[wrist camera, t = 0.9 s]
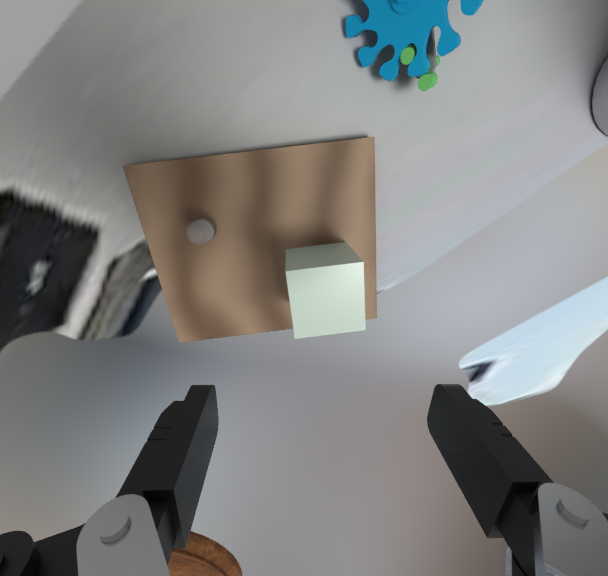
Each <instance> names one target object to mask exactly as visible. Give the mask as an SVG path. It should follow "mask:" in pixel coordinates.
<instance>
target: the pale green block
mask: <svg viewBox="0 0 608 576" xmlns="http://www.w3.org/2000/svg"><path fill="white" fill-rule="evenodd" d="M285 272H286V279H287V286H288V293H289V300H290V307H291V315H292V322H293V329H294V336H295V339H297V338H304V337H313V336H321V335H329V334H337V333H345V332H353V331H361V330H366V324H365V292H364V262H363V261H362V259H361V258H360V257H359V256H358V255H357V254H356V253H355V252H354V251H353V249H352V248H351V247H350V246H349V245H348V244H347V243H346V242H341V243H333V244H324V245H316V246H308V247H299V248H291V249H286V267H285Z"/></svg>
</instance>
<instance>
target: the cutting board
mask: <svg viewBox="0 0 608 576" xmlns="http://www.w3.org/2000/svg"><path fill="white" fill-rule="evenodd" d="M168 570H169V573H170V576H242V570H241V567H240V565H239V562H238V561H237V560H236V558H235V557H234V555H233V554H232V553H230V552H229V551H228V550H227V549H226V548H225V547H223V546H222V545H220V544H219V543H218V542H216V541H214V540H212V539H210V538H208V537H206V536H204V535H201V534H198V533H195V532H193V531H190V534H189V538H188V541H187V545H186V548H180V549H173V550H172V554H171V557H170V560H169V563H168Z"/></svg>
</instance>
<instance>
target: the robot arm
mask: <svg viewBox="0 0 608 576" xmlns="http://www.w3.org/2000/svg"><path fill="white" fill-rule="evenodd" d="M592 108H593V115H594V118H595V122H596V123H597V125H598V127H599V128H600V130H602V131H603V132H604V133H605V134H606V135H608V57H607V59H606V60H605V62H604V64H603V66H602V68H601V70H600V72H599V74H598V77H597V80H596V83H595V86H594V91H593V98H592ZM427 423H428V428H429V431H430V434H431V436H432V437H433V440H434V441H435V443H436V445H437V447H438V448H439V450H440V452H441V454H442V456H443V458H444V460H445V461H446V463H447V465H448V467H449V469H450V470H451V472H452V474H453V476H454V478H455V480H456V481H457V483H458V485H459V487H460V489H461V491H462V493H463V494H464V496H465V498H466V500H467V502H468V504H469V505H470V507H471V509H472V511H473V513H474V515H475V516H476V518H477V520H478V522H479V524H480V526H481V527H482V529H483V531H484V533H485V535H486V536H487V538H504V539H505V541H506V542H507V544H508V546H509V548H508V550H507V554H506V576H608V514H606V513H602V512H600V510H599V509H598V508H597V507H596V506H595V505H594V504H593V503H591V502H590V501H589V500H588V499H586V498H585V497H584V496H582V495H581V494H579V493H577V492H576V491H574V490H572V489H570V488H568V487H566V486H563V485H560V484H556V483H554V482H553V481H552V480H551V479H550V478H549V476H548V475H547V474H546V473H545V472H544V471H543V470H542V468H541V467H540V466H539V465H538V464H537V463H536V461H535V460H534V459H533V458H532V457H531V456H530V455H529V453H528V452H527V451H526V450H525V449H524V448H523V446H522V445H521V444H520V443H519V442H518V440H517V439H516V438H515V437H513V436H512V434H511V432H510V431H509V430H508V429H507V428H506V427H505V426H503V424H502V422H501V421H500V420H499V418H498V417H497V416H496V415H495V414H494V413H493V411H491V410H490V409H489V408H488V407H486V406H485V405H484V404H482V403H481V402H480V401H478V400H477V399H472V398H471V397H470V395H469V394H468V393H467V392H466V390H465V389H464V388H463V387H462V386H461V385H459V384H438V385H436V386H435V388H434V392H433V396H432V400H431V404H430V408H429V412H428V416H427ZM217 431H218V408H217V399H216V390H215V386H214V385H192V386H191V387H190V389H189V391H188V393H187V396H186V397H185V400H184V401H174V402H173V403H172V404H170V406H168V407H167V408H166V409H165V410H164V411H163V412H162V413H161V415H160V417H159V419H158V421H157V422H156V424H155V426H154V430H152V432H151V434H150V436H149V437H148V440H147V442H146V443H145V445H144V447H143V448H142V450H141V452H140V454H139V456H138V458H137V460H136V461H135V464H134V465H133V467H132V469H131V471H130V473H129V474H128V476H127V478H126V480H125V482H124V484H123V486H122V488H121V489H120V491H119V493H118V494H117V496H116V498H115V499H113V500H111V501H109V502H107V503H106V504H105V505H103V506H102V507H101V508H99V509H98V510H97V511H96V512H95V513H94V514H93V515H92V516H91V517H90V519H89V520H88V521H87V522H86V523H85V524H83V525H81V526H78V527H76V528H74V529H71V530H68V531H65V532H63V533H59V534H56V535H54V536H51V537H48V538H45V539H42V540H39V541H37V542H34V541H33V539H32V538H31V536H30V535H29V534H28V533H26V532H23V531H12V532H8V533H4V534H1V535H0V576H170V573H169V570H168V563H169V560H170V557H171V554H172V550H173V549H180V548H186V545H187V541H188V538H189V534H190V530H191V527H192V523H193V520H194V516H195V512H196V509H197V505H198V502H199V498H200V494H201V491H202V487H203V484H204V480H205V476H206V473H207V469H208V465H209V462H210V458H211V455H212V451H213V448H214V444H215V440H216V437H217Z"/></svg>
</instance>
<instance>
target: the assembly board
mask: <svg viewBox="0 0 608 576" xmlns="http://www.w3.org/2000/svg"><path fill="white" fill-rule="evenodd" d="M123 168H124V171H125V174H126V177H127V180H128V183H129V187H130V190H131V193H132V196H133V199H134V202H135V205H136V208H137V212H138V215H139V218H140V221H141V224H142V227H143V230H144V234H145V237H146V240H147V243H148V246H149V249H150V252H151V255H152V259H153V262H154V265H155V268H156V271H157V274H158V277H159V281H160V284H161V287H162V290H163V293H164V296H165V299H166V302H167V305H168V309H169V312H170V314H171V318H172V321H173V324H174V327H175V330H176V334H177V337H178V340H179V342H188V341H196V340H204V339H213V338H221V337H228V336H237V335H245V334H252V333H261V332H269V331H278V330H286V329H293V322H292V315H291V307H290V300H289V293H288V286H287V279H286V272H285V267H286V249H291V248H299V247H308V246H316V245H324V244H333V243H341V242H346V243H347V244H348V245H349V246H350V247H351V248H352V249H353V251H354V252H355V253H356V254H357V255H358V256H359V257H360V258H361V259H362V261H363V262H364V292H365V320H367V319H374V318H377V300H376V299H377V296H376V222H375V147H374V137H368V138H360V139H351V140H342V141H334V142H325V143H316V144H308V145H299V146H290V147H282V148H273V149H264V150H256V151H247V152H238V153H230V154H221V155H212V156H204V157H195V158H186V159H178V160H169V161H160V162H152V163H143V164H134V165H126V166H123Z"/></svg>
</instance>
